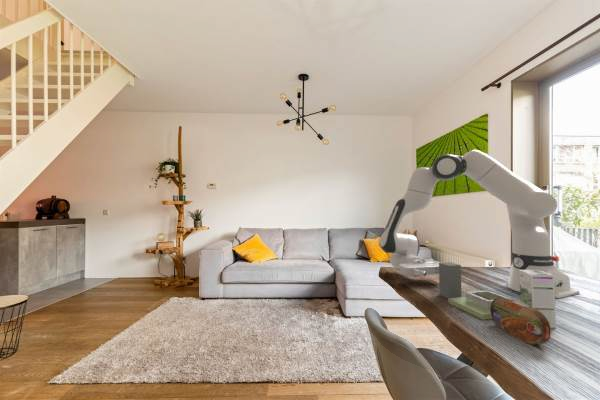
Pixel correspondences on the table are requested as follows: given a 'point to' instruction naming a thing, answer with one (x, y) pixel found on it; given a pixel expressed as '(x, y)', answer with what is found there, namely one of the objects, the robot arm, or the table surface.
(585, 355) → the table surface
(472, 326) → the table surface
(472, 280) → the table surface
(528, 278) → the syrup box
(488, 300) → the deck plate
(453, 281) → the chute block
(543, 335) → the tin
